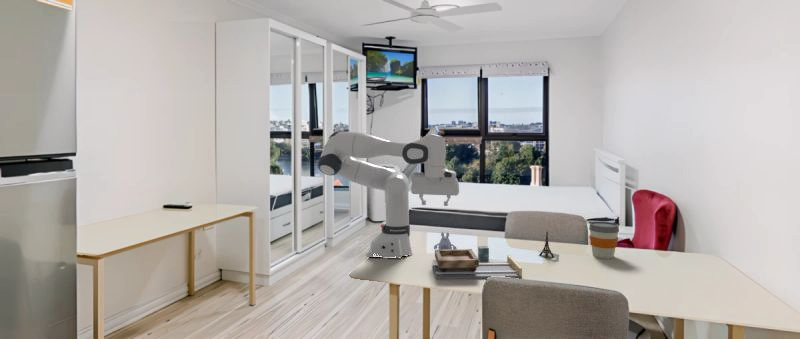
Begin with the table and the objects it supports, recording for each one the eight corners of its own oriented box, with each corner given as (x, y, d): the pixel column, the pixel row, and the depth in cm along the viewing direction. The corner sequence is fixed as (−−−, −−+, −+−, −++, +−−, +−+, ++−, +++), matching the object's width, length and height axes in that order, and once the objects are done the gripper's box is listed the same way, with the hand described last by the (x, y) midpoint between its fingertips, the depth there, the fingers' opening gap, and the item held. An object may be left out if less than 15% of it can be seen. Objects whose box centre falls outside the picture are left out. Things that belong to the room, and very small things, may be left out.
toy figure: (432, 259, 197) (432, 233, 196) (434, 255, 203) (434, 230, 202) (455, 260, 195) (456, 234, 194) (457, 256, 201) (457, 231, 200)
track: (436, 279, 170) (436, 269, 170) (432, 265, 188) (432, 256, 188) (521, 278, 171) (522, 268, 170) (509, 264, 189) (509, 255, 188)
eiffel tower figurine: (559, 263, 191) (559, 233, 190) (535, 261, 195) (535, 232, 194) (559, 254, 205) (559, 226, 204) (537, 252, 209) (537, 225, 208)
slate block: (479, 261, 193) (480, 248, 193) (478, 258, 197) (478, 246, 197) (488, 261, 194) (488, 248, 193) (486, 258, 198) (486, 245, 197)
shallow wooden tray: (438, 274, 171) (438, 260, 170) (434, 261, 187) (434, 249, 186) (478, 273, 171) (479, 260, 171) (471, 261, 187) (471, 249, 187)
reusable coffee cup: (611, 252, 206) (612, 221, 205) (622, 260, 194) (623, 227, 192) (584, 251, 207) (585, 221, 206) (593, 259, 195) (594, 227, 194)
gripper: (409, 172, 180) (409, 205, 181) (458, 173, 175) (457, 207, 176) (412, 171, 186) (412, 203, 187) (459, 172, 181) (459, 205, 182)
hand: (434, 205), depth 182 cm, fingers open, 8 cm apart
